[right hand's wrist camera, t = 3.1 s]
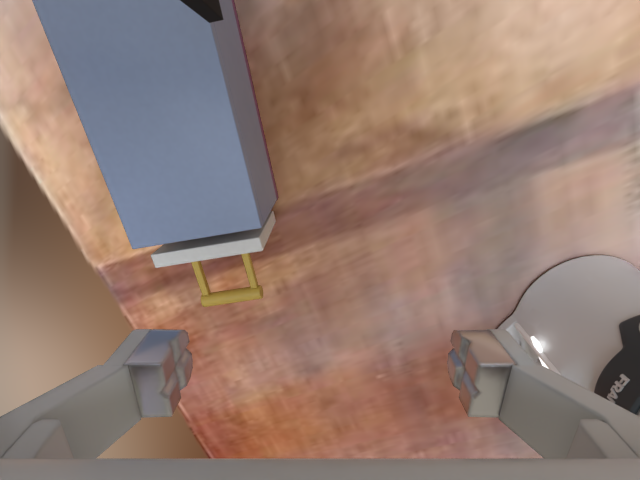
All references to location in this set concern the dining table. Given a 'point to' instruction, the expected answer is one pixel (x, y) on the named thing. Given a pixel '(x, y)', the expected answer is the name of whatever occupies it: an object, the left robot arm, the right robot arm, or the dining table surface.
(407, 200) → the dining table surface
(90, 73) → the cabinet
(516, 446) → the dining table surface
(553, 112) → the dining table surface
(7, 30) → the dining table surface
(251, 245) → the drawer
